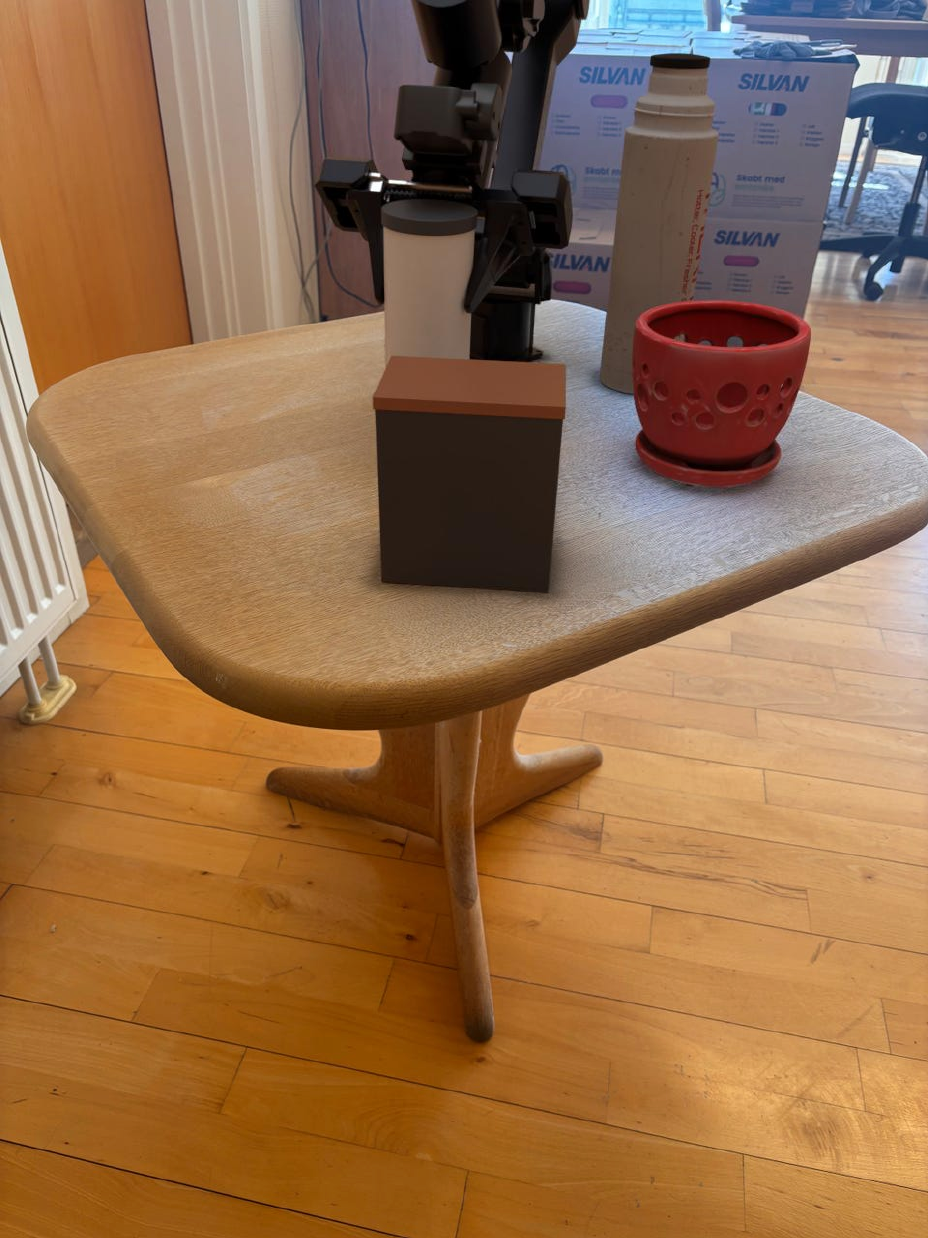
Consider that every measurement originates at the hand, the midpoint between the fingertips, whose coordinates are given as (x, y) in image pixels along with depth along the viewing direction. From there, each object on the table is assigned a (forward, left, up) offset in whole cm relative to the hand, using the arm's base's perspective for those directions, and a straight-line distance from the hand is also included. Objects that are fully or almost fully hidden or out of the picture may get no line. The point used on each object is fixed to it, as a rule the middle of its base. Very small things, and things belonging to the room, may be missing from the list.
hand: (422, 305), depth 69 cm
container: (-1, -1, -7) cm, 7 cm away
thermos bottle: (-29, -3, -13) cm, 32 cm away
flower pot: (-18, +13, -13) cm, 26 cm away
